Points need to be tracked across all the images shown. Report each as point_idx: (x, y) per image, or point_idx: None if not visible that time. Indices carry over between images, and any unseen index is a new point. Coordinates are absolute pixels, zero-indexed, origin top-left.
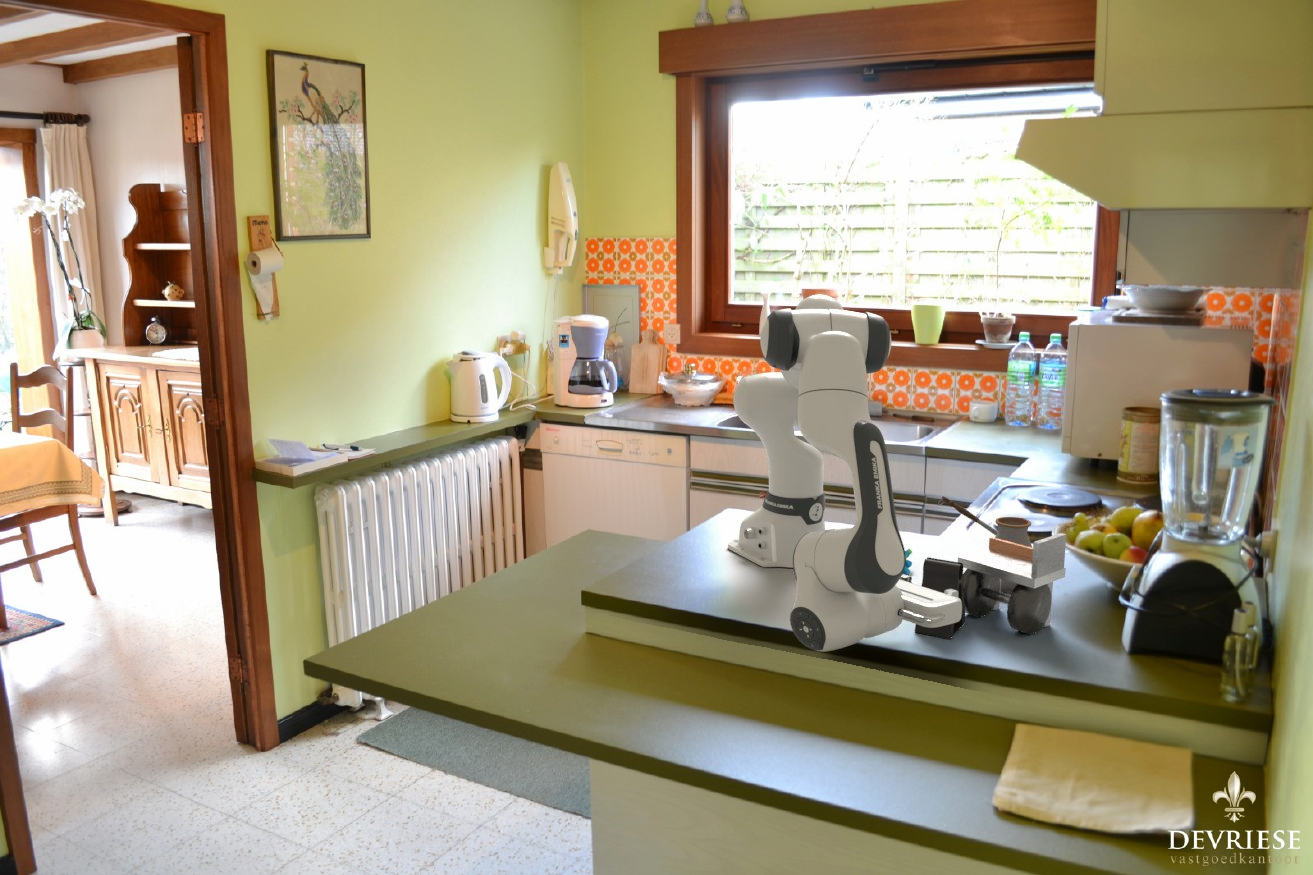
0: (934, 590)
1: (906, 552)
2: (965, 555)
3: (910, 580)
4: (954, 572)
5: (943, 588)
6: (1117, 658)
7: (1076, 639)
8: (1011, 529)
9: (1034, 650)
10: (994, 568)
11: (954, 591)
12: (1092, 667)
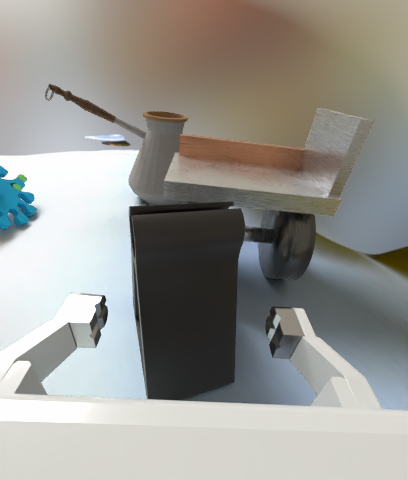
0: (339, 417)
1: (18, 180)
2: (170, 174)
3: (102, 305)
4: (235, 237)
5: (203, 285)
6: (385, 272)
7: (316, 257)
8: (172, 125)
9: (336, 314)
10: (253, 192)
11: (307, 320)
12: None
